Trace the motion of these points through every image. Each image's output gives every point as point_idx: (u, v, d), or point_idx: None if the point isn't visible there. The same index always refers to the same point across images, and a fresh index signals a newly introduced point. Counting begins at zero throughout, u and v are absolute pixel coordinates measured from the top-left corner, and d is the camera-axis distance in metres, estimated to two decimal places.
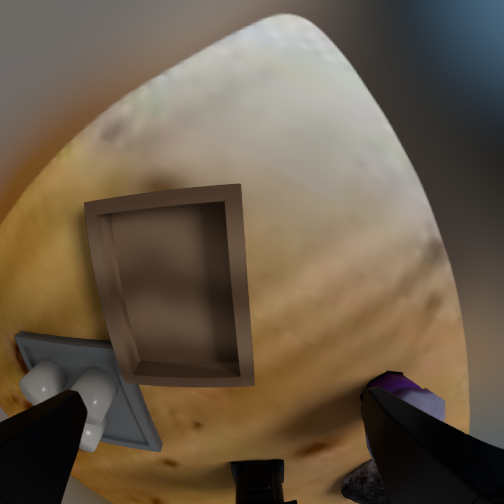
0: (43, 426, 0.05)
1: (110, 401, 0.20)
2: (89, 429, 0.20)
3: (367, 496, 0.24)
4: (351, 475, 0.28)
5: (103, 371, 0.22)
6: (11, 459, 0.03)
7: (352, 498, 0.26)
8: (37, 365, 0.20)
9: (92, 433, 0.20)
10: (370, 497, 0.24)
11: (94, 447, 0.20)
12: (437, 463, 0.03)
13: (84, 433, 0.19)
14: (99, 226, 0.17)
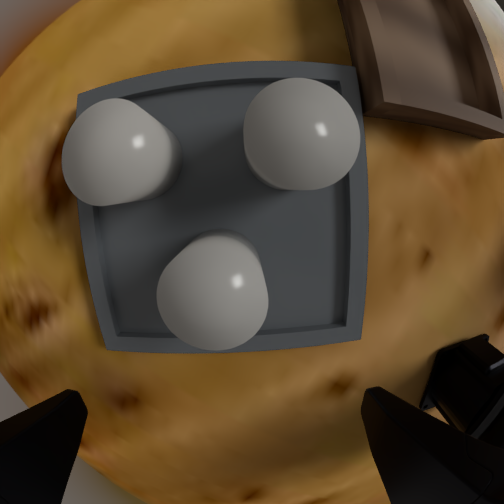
0: (43, 426, 0.05)
1: None
2: (253, 258, 0.10)
3: None
4: None
5: None
6: (12, 459, 0.03)
7: None
8: None
9: (260, 270, 0.10)
10: None
11: (262, 317, 0.10)
12: (437, 463, 0.03)
13: (247, 258, 0.09)
14: None
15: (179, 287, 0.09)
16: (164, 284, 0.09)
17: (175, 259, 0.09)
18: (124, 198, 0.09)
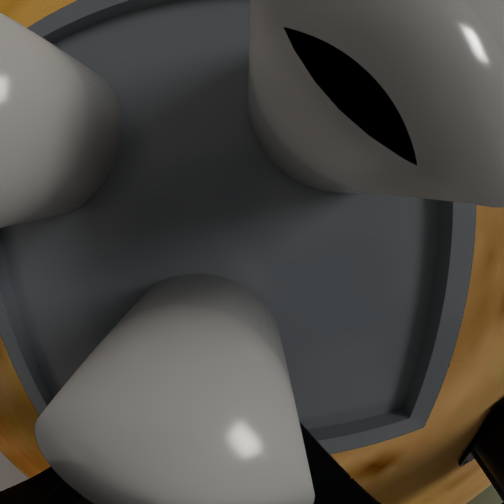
0: None
1: None
2: (276, 398, 0.03)
3: None
4: None
5: None
6: None
7: None
8: None
9: (295, 424, 0.03)
10: None
11: None
12: None
13: (264, 439, 0.02)
14: None
15: (80, 465, 0.02)
16: (49, 450, 0.02)
17: (46, 415, 0.02)
18: None
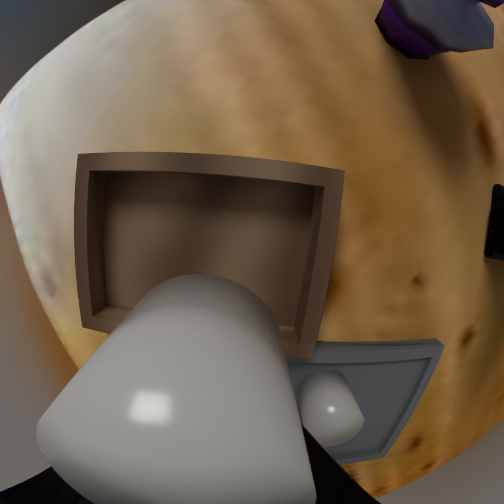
0: None
1: (341, 387, 0.17)
2: (279, 400, 0.03)
3: None
4: None
5: (304, 380, 0.19)
6: None
7: None
8: None
9: (297, 426, 0.03)
10: None
11: None
12: None
13: (268, 441, 0.02)
14: (104, 317, 0.15)
15: (82, 465, 0.02)
16: (50, 450, 0.02)
17: (49, 417, 0.02)
18: None
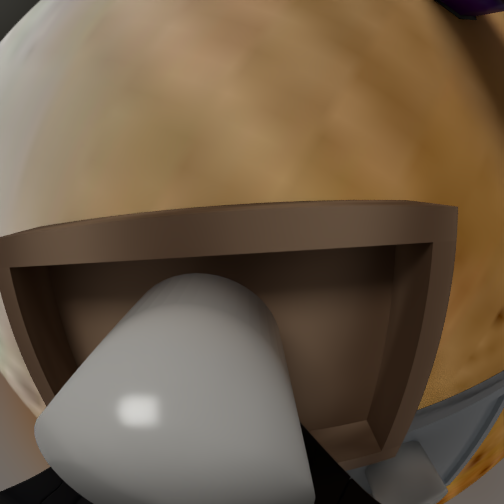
0: None
1: (422, 465, 0.09)
2: (278, 399, 0.03)
3: None
4: None
5: None
6: None
7: None
8: None
9: (296, 426, 0.03)
10: None
11: None
12: None
13: (267, 441, 0.02)
14: None
15: (80, 465, 0.02)
16: (48, 449, 0.02)
17: (47, 415, 0.02)
18: None
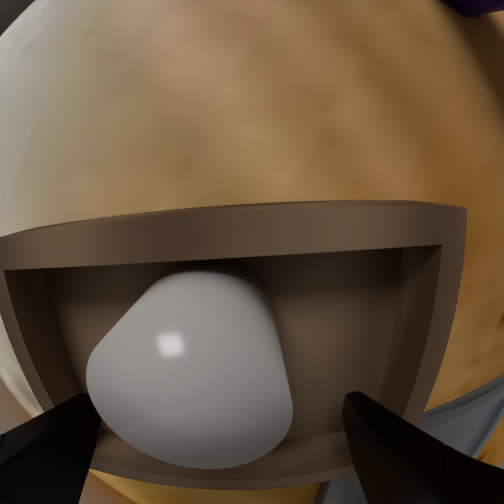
0: (59, 432, 0.05)
1: None
2: (265, 331, 0.05)
3: None
4: None
5: None
6: (26, 468, 0.03)
7: None
8: None
9: (279, 353, 0.05)
10: None
11: (279, 435, 0.05)
12: (411, 474, 0.03)
13: (256, 346, 0.04)
14: (104, 459, 0.08)
15: (122, 386, 0.04)
16: (96, 377, 0.04)
17: (107, 339, 0.04)
18: None
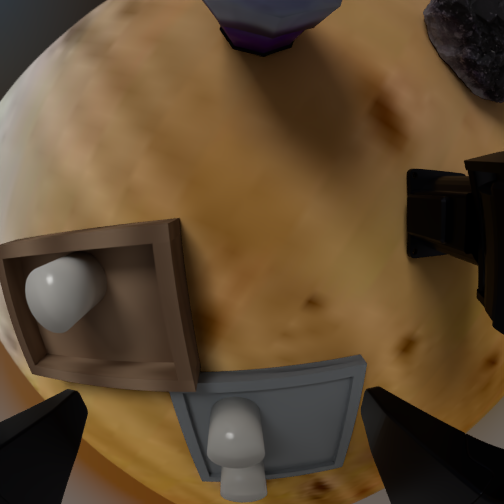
0: (43, 427, 0.05)
1: (240, 415, 0.17)
2: (73, 275, 0.13)
3: (499, 60, 0.11)
4: (467, 83, 0.15)
5: (212, 407, 0.19)
6: (11, 459, 0.03)
7: None
8: (221, 473, 0.19)
9: (76, 283, 0.13)
10: (500, 56, 0.10)
11: (73, 314, 0.13)
12: (437, 463, 0.03)
13: (61, 276, 0.12)
14: (42, 365, 0.16)
15: (33, 291, 0.12)
16: (27, 288, 0.12)
17: (30, 274, 0.12)
18: (265, 488, 0.17)
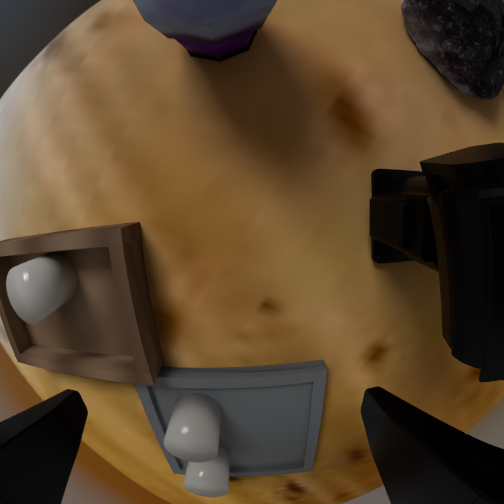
0: (43, 426, 0.05)
1: (196, 411, 0.18)
2: (44, 273, 0.14)
3: (485, 53, 0.10)
4: (451, 79, 0.15)
5: None
6: (12, 459, 0.03)
7: (495, 80, 0.12)
8: None
9: (46, 281, 0.14)
10: (486, 48, 0.10)
11: (43, 307, 0.13)
12: (437, 463, 0.03)
13: (33, 274, 0.13)
14: (26, 354, 0.17)
15: (12, 286, 0.13)
16: (8, 284, 0.13)
17: (9, 272, 0.13)
18: (225, 485, 0.17)
